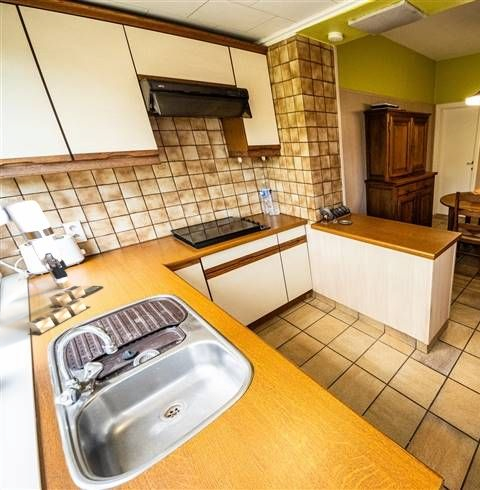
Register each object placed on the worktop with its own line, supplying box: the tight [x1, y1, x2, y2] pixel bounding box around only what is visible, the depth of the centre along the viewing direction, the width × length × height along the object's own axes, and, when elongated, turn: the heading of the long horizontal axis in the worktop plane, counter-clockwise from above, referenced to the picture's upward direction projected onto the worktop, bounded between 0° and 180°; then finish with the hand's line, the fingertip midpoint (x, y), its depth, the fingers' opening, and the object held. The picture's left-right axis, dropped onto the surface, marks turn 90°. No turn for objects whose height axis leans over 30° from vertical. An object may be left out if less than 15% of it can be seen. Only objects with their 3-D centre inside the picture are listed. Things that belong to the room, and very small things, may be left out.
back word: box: [48, 285, 104, 309], centre depth 125 cm, size 18×6×6 cm, turn 171°
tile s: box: [26, 315, 55, 333], centre depth 103 cm, size 4×4×4 cm
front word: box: [27, 299, 91, 337], centre depth 108 cm, size 18×6×6 cm, turn 171°
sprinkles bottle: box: [44, 263, 71, 290], centre depth 133 cm, size 5×5×14 cm
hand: (62, 273), depth 105 cm, fingers open, 9 cm apart
